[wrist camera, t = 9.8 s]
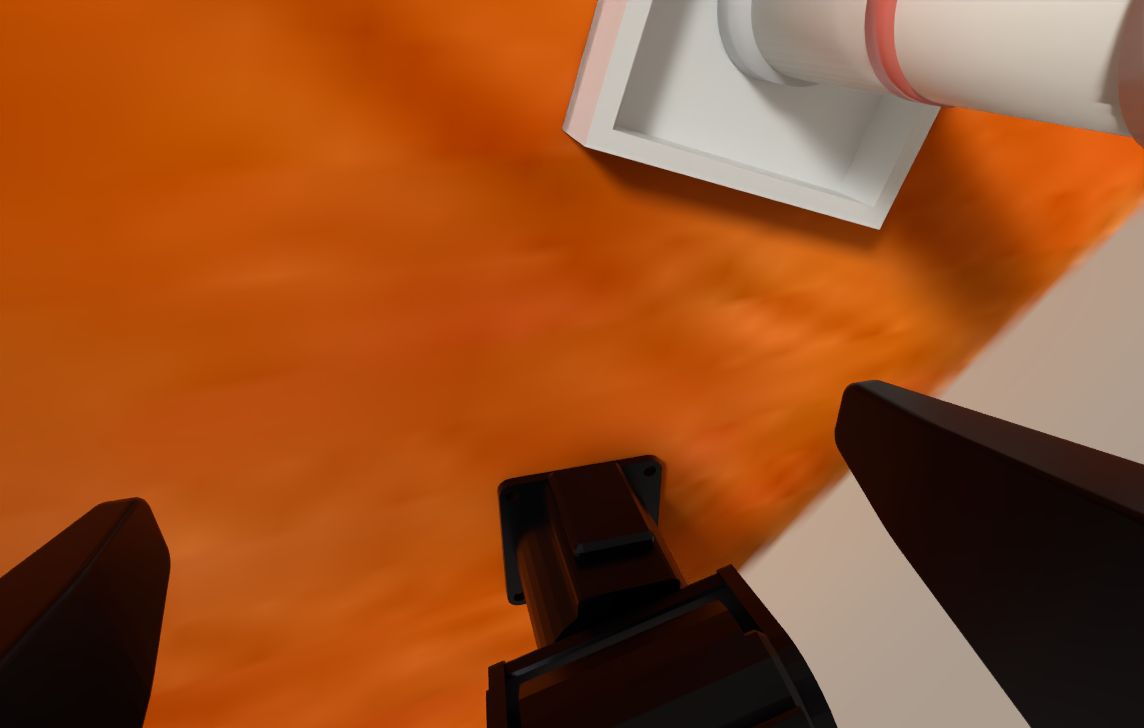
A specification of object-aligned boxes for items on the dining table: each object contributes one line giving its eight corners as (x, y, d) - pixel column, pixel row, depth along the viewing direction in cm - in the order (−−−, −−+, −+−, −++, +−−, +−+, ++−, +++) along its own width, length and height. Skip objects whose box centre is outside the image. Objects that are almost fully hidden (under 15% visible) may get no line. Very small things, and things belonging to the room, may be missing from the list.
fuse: (851, 57, 20) (1457, 125, 9) (726, 99, 19) (1203, 225, 8) (849, -108, 18) (1650, -288, 7) (707, -66, 17) (1321, -186, 6)
